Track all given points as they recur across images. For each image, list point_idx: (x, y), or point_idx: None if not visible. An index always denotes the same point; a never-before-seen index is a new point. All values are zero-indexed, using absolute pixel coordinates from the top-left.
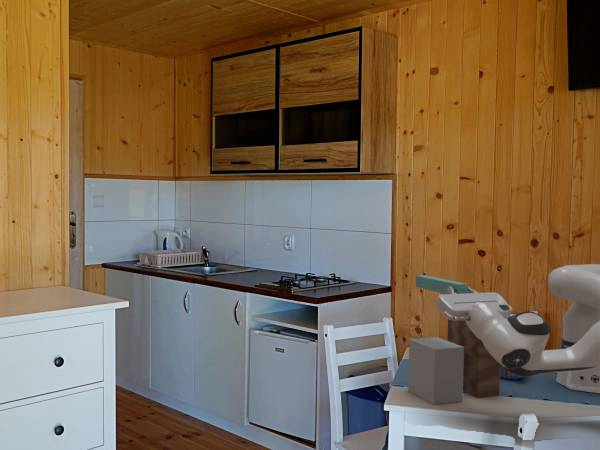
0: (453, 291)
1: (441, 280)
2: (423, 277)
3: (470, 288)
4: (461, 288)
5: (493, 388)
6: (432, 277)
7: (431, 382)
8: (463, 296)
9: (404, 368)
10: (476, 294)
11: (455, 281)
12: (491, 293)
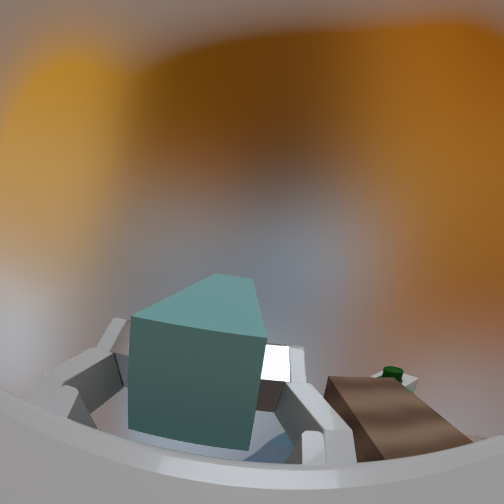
0: (77, 369)
1: (206, 287)
2: (210, 276)
3: (305, 381)
4: (170, 367)
5: None
6: (241, 281)
7: None
8: (49, 469)
9: (256, 454)
10: (286, 497)
11: (256, 302)
12: (480, 462)
